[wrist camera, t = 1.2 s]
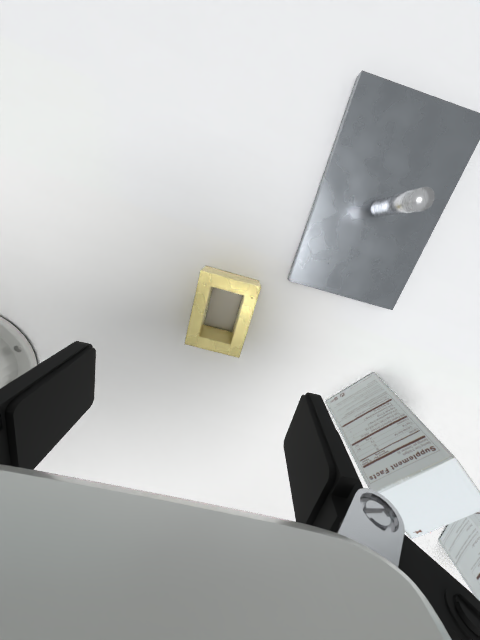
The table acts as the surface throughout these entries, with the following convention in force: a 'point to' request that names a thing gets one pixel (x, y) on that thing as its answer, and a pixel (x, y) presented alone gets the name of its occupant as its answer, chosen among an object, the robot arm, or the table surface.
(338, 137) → the keeper plate
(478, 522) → the supplement box
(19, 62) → the table surface
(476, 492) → the supplement box
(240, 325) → the hollow rectangular wooden block
